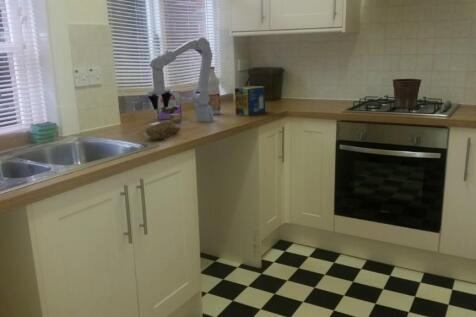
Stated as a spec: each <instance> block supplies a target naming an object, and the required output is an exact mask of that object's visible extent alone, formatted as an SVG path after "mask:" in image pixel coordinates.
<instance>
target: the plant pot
mask: <svg viewBox="0 0 476 317" xmlns="http://www.w3.org/2000/svg"><path fill="white" fill-rule="evenodd" d="M391 81H392V86H393V99H394V108H395V107H396V108H397V109H404V110H406V109H407V110H409V108H410V109H416V108H417V106H418V98H419V92H420V88H421V83H422V81H423V80H422V79H421V78H420V79H419V78H397V79H396V78H395V79H392V80H391Z"/></svg>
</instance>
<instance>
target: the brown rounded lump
mask: <svg viewBox="0 0 476 317" xmlns="http://www.w3.org/2000/svg"><path fill="white" fill-rule="evenodd" d="M180 129H181V127H180V125H178V124H175V123H172V122H169V121H166V122H161V123H159V124H156V125H154V126H148V127H147V128H146V130H145V133H146V135H147V136H148V137H149V138H150V139H152V140H156V141H157V140H158V141H159V140H163V139H166V138H167V137H168V136H170V135H175V134H177V133H178V134H179V132H180Z"/></svg>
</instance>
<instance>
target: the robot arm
mask: <svg viewBox="0 0 476 317" xmlns="http://www.w3.org/2000/svg"><path fill="white" fill-rule="evenodd" d="M189 50H194V51H195V52H197V53H199V55H200V56H201V63H200V70H199V76H198V84H197V86H196V89H195V91H194V93H193V96H192V100H193V102H194V113H195V114H194V115H195V122H205V123H206V122H211V121H214V115H213V108H212V107H211V106H209V105H208V102H209V91H208V81H209V75H210V68H211V67H212V62H213V52H212V48H211V45H210V42H209V41H208V40H207V38H205V37H195V38H193V39H191V40H188V41H186V42H185V43H183V44H182V45H180V46H179V47H177V48H175V49H174V50H171V49H169V50H168V49H166V50H165V51H164V53H162V54H160V55H159V54H158V55H157V57H154V58H152V59H151V61H150V64H149V66H150V68H151V75H152V76H151V77H152V84H153V90H152V91H148V92H147V95H148V96H147V97H148V99H149V100H150V102H151V105H152V107H153V110H157V109H158V98H159V96H156V95H159V94H161V96H162V99H163V104H164V107H166V108H167V107H168V103H169V99H170V97H171V91H170V90H171V89H170V88H167V89H166V84H165V73H164V68H165V66H168V65H170V64H171V63H173V62H174V61H176V59H177V57H178V56H180V55H181V54H183V53H185V52H187V51H189Z"/></svg>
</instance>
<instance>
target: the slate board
mask: <svg viewBox="0 0 476 317" xmlns="http://www.w3.org/2000/svg"><path fill="white" fill-rule="evenodd" d="M157 122H158V123H161V122H160V121H157ZM190 122H191V121H186V120H181V123H177V124H178V125H179V126H180V125H183V124H187V123H190ZM145 126H148V127H152V126H154V125H148V124H146V125H145Z"/></svg>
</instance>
